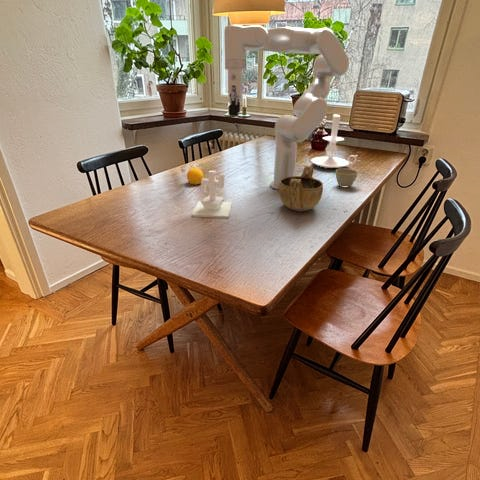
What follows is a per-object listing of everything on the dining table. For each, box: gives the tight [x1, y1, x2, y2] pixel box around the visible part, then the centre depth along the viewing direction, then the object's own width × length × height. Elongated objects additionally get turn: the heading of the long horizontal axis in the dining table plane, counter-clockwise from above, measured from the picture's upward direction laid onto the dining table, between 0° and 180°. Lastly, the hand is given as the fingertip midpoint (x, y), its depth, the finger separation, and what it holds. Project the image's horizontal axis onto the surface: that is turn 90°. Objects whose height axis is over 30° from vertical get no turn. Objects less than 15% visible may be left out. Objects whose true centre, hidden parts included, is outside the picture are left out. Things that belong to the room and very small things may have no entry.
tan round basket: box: [278, 165, 324, 212], centre depth 127 cm, size 22×17×15 cm
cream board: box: [191, 200, 233, 219], centre depth 128 cm, size 14×14×1 cm
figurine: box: [199, 169, 226, 211], centre depth 125 cm, size 7×9×15 cm
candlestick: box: [310, 113, 358, 169], centre depth 175 cm, size 21×25×28 cm
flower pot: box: [335, 168, 359, 187], centre depth 153 cm, size 10×10×7 cm
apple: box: [186, 167, 205, 185], centre depth 155 cm, size 8×8×8 cm
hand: (234, 114), depth 129 cm, fingers open, 9 cm apart
